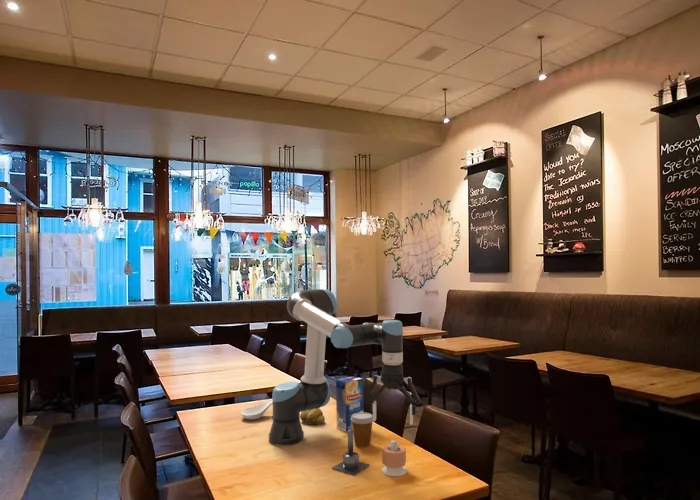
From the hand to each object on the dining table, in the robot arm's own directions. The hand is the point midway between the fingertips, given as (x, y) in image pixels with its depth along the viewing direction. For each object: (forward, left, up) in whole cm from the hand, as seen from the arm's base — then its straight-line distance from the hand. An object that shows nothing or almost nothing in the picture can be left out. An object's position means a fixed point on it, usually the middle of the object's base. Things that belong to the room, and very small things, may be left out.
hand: (392, 421), depth 170 cm
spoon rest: (-87, +20, -18) cm, 91 cm away
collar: (0, 0, -14) cm, 14 cm away
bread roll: (-60, +26, -18) cm, 68 cm away
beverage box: (-41, +30, -18) cm, 53 cm away
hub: (0, 0, -17) cm, 17 cm away
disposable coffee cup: (-24, +15, -18) cm, 33 cm away
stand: (-15, -6, -17) cm, 24 cm away
